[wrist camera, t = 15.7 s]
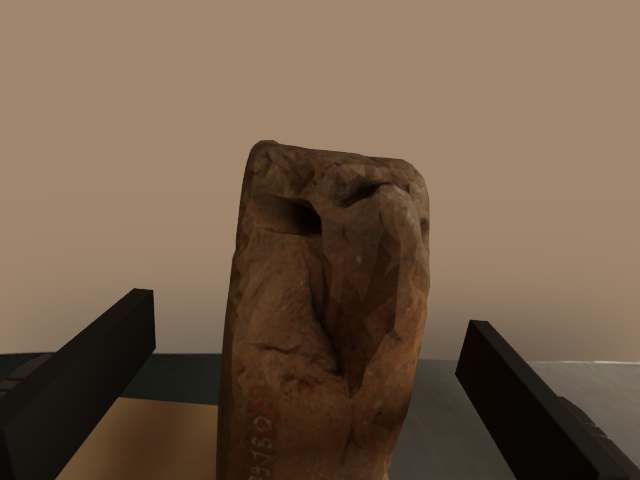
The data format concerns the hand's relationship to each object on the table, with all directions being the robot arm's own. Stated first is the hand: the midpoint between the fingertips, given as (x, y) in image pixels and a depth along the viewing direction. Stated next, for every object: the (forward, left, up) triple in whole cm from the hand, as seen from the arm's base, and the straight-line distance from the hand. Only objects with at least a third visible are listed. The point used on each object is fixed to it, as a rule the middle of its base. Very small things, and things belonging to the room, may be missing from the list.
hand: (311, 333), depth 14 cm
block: (0, +1, -13) cm, 13 cm away
